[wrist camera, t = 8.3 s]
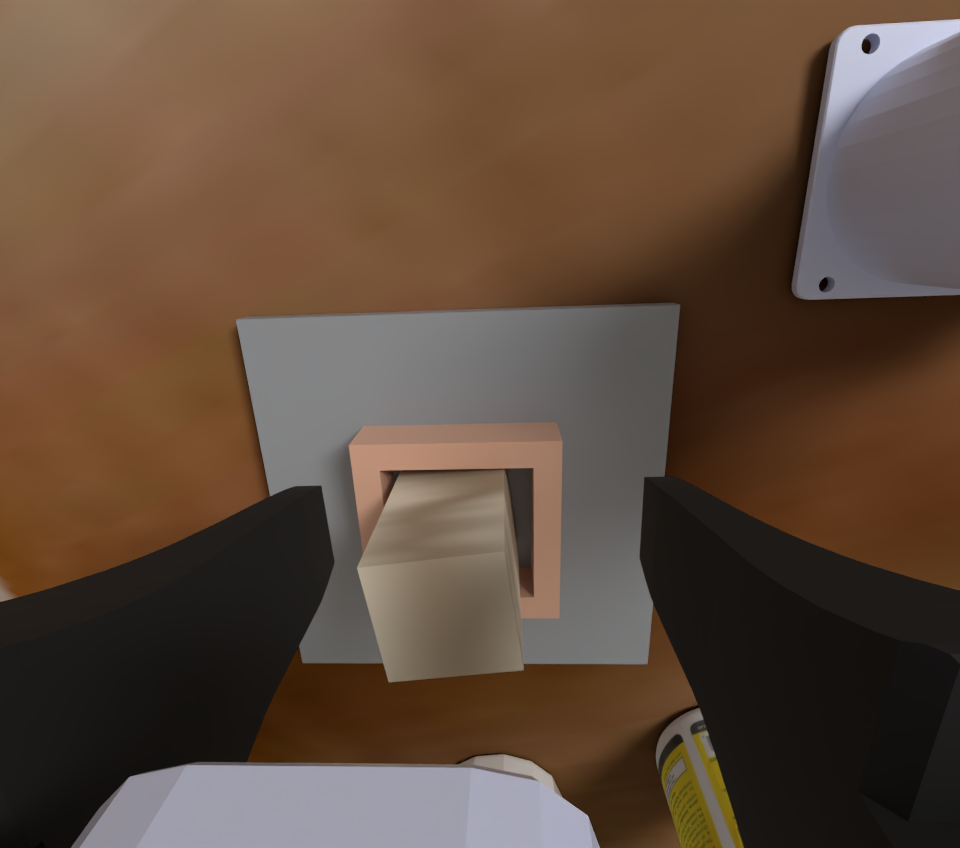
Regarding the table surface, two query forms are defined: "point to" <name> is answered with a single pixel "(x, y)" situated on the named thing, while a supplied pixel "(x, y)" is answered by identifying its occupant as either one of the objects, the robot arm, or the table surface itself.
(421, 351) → the holder
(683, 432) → the table surface
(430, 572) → the peg
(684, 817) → the pill bottle
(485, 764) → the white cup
